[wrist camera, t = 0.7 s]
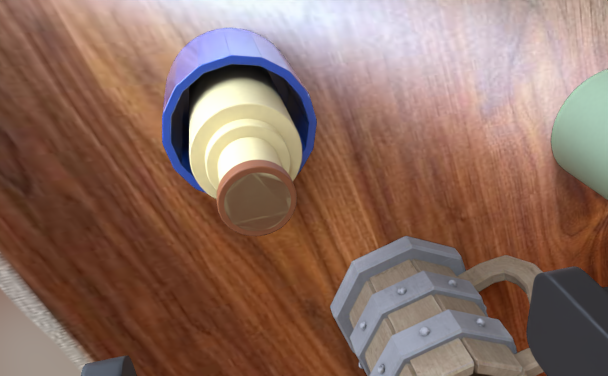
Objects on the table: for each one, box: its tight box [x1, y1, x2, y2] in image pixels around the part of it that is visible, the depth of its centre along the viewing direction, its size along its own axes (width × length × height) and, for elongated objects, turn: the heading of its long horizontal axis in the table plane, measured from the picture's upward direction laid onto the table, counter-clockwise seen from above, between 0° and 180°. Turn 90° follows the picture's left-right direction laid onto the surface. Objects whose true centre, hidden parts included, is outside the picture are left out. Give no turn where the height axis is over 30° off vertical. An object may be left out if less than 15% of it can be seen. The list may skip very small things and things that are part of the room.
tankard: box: [330, 236, 544, 376], centre depth 44 cm, size 20×13×15 cm, turn 114°
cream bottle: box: [189, 64, 302, 236], centre depth 31 cm, size 6×6×16 cm
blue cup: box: [162, 28, 317, 194], centre depth 35 cm, size 9×9×8 cm
